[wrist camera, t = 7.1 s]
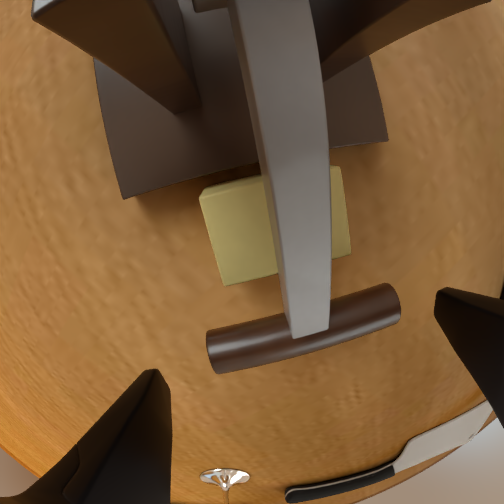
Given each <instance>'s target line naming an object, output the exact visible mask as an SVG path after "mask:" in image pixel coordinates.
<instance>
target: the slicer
mask: <svg viewBox="0 0 504 504" xmlns="http://www.w3.org/2000/svg"><path fill="white" fill-rule="evenodd" d="M488 2H491V0H309V4H310V9H311V14H312V19H313V24H314V29H315V35H316V41H317V47H318V53H319V60H320V67H321V74H322V82H323V90H324V99H325V108H326V119H327V130H328V143H329V149H332V148H339V147H346V146H353V145H361V144H369V143H378V142H387V141H388V140H389V139H388V134H387V128H386V123H385V118H384V113H383V108H382V103H381V99H380V95H379V91H378V87H377V83H376V79H375V75H374V71H373V68H372V64H371V61H370V58H369V55H370V54H372V53H374V52H375V51H377V50H379V49H381V48H383V47H385V46H387V45H388V44H390V43H392V42H394V41H396V40H398V39H400V38H402V37H404V36H406V35H408V34H410V33H412V32H414V31H417V30H419V29H421V28H423V27H425V26H427V25H430V24H432V23H434V22H437V21H439V20H441V19H444V18H446V17H449V16H451V15H454V14H456V13H459V12H461V11H464V10H467V9H470V8H473V7H475V6H478V5H481V4H485V3H488ZM31 17H32V19H33V21H35V22H37V23H39V24H41V25H42V26H44V27H46V28H47V29H49V30H51V31H53V32H54V33H56V34H58V35H59V36H61V37H63V38H64V39H66V40H67V41H69V42H71V43H72V44H74V45H75V46H77V47H79V48H80V49H82V50H83V51H85V52H86V53H88V54H89V55H91V56H93V60H94V68H95V75H96V82H97V89H98V95H99V101H100V106H101V112H102V117H103V122H104V127H105V131H106V136H107V141H108V145H109V149H110V153H111V157H112V161H113V165H114V169H115V173H116V177H117V180H118V184H119V188H120V191H121V195H122V198H123V199H124V200H125V199H128V198H130V197H133V196H137V195H140V194H143V193H146V192H149V191H152V190H155V189H158V188H162V187H165V186H168V185H172V184H175V183H179V182H182V181H186V180H189V179H193V178H196V177H200V176H204V175H208V174H211V173H215V172H219V171H223V170H227V169H231V168H236V167H240V166H244V165H248V164H253V163H257V162H259V158H258V153H257V147H256V142H255V137H254V132H253V127H252V121H251V116H250V111H249V106H248V101H247V96H246V91H245V86H244V82H243V77H242V72H241V67H240V62H239V58H238V53H237V48H236V44H235V39H234V35H233V30H232V26H231V21H230V17H229V12H228V8H221V9H216V10H210V11H206V12H201V13H195V11H194V9H193V5H192V1H191V0H33V2H32V10H31Z"/></svg>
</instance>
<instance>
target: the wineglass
mask: <svg viewBox="0 0 504 504" xmlns="http://www.w3.org/2000/svg"><path fill="white" fill-rule="evenodd" d="M200 479H201V480H202V481H203V482H205V483H207V484H211V485H216V486H220V487H221V489H222V491H223V499H224V504H229V489H230V487H231V486H234V485H239V484H242V483H245V482H247V481H248V480H249V479H250V475H249V474H248V473H246V472H244V471H241V470H236V469H214V470H208V471H205V472H203V473H202V474H200Z"/></svg>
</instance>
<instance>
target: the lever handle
mask: <svg viewBox="0 0 504 504" xmlns="http://www.w3.org/2000/svg"><path fill="white" fill-rule="evenodd" d="M191 1H192V5H193V9H194V11H195V13H201V12H206V11H210V10H216V9H221V8H228V12H229V17H230V21H231V26H232V30H233V35H234V39H235V44H236V48H237V53H238V58H239V62H240V67H241V72H242V77H243V82H244V86H245V91H246V96H247V101H248V106H249V111H250V116H251V121H252V127H253V132H254V137H255V142H256V147H257V153H258V158H259V164H260V169H261V174H262V180H263V186H264V191H265V197H266V202H267V208H268V214H269V220H270V226H271V231H272V237H273V243H274V249H275V256H276V262H277V268H278V274H279V280H280V287H281V293H282V300H283V306H284V313H280V314H276V315H273V316H269V317H264V318H260V319H256V320H252V321H248V322H244V323H239V324H235V325H230V326H226V327H221V328H217V329H212V330H208V331H207V333H206V347H207V352H208V356H209V360H210V363H211V366H212V368H213V370H214V371H215V373H216V374H223V373H229V372H234V371H239V370H243V369H248V368H253V367H257V366H262V365H266V364H270V363H274V362H278V361H282V360H286V359H290V358H294V357H297V356H301V355H304V354H308V353H311V352H315V351H318V350H322V349H325V348H328V347H331V346H335V345H338V344H341V343H344V342H347V341H350V340H353V339H356V338H359V337H362V336H364V335H367V334H370V333H373V332H375V331H378V330H381V329H383V328H386V327H389V326H391V325H394V324H396V323H397V322H398V321H399V320H400V316H401V306H400V301H399V298H398V295H397V293H396V291H395V289H394V288H393V287H392V286H391V285H390V284H388V283H382V284H379V285H376V286H373V287H370V288H367V289H364V290H361V291H358V292H354V293H351V294H348V295H345V296H341V297H338V298H335V299H331V300H330V295H331V264H332V208H331V177H330V158H329V143H328V130H327V119H326V108H325V99H324V90H323V82H322V74H321V67H320V60H319V53H318V47H317V41H316V35H315V29H314V24H313V19H312V14H311V9H310V4H309V0H191Z"/></svg>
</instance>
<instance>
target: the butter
mask: <svg viewBox="0 0 504 504" xmlns="http://www.w3.org/2000/svg"><path fill="white" fill-rule="evenodd" d="M330 177H331V208H332V259H336V258H340V257H344V256H347V255H350V254H351V244H350V234H349V225H348V217H347V209H346V201H345V194H344V187H343V180H342V174H341V168H340V167H339V166H334V165H330ZM199 202H200V205H201V209H202V213H203V216H204V220H205V224H206V227H207V231H208V234H209V238H210V241H211V245H212V248H213V252H214V255H215V259H216V262H217V265H218V269H219V272H220V275H221V279H222V282H223V285H224V286H230V285H234V284H238V283H242V282H247V281H251V280H255V279H259V278H263V277H267V276H271V275H275V274H278V268H277V262H276V256H275V249H274V243H273V237H272V231H271V226H270V220H269V214H268V208H267V202H266V197H265V191H264V186H263V180H262V174H257V175H253V176H248V177H244V178H240V179H236V180H232V181H228V182H224V183H220V184H216V185H212V186H208V187H205V188H204V190H203V192H202V194H201V195H200V197H199Z"/></svg>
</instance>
